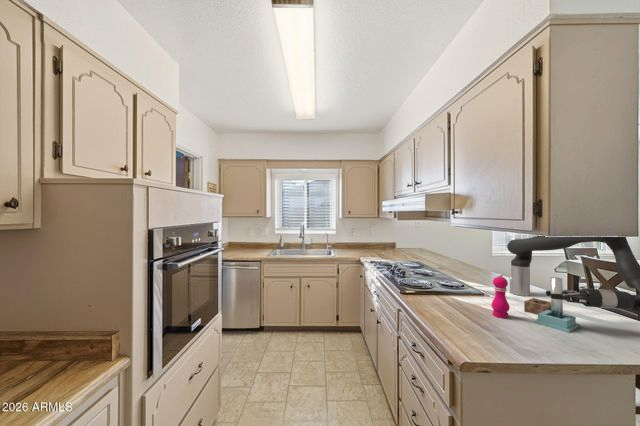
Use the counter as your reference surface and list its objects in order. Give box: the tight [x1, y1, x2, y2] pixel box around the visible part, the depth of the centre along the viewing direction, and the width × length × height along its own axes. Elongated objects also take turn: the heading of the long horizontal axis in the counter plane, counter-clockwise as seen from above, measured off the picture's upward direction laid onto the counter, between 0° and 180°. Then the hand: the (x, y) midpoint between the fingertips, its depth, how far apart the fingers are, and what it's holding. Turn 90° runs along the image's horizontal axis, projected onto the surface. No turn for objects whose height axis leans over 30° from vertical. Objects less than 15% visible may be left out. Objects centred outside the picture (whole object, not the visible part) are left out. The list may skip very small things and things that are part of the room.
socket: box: [533, 310, 581, 333], centre depth 120 cm, size 12×12×4 cm
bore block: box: [523, 297, 551, 316], centre depth 135 cm, size 10×10×5 cm
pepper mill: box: [491, 273, 511, 319], centre depth 130 cm, size 7×7×20 cm
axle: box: [549, 276, 564, 319], centre depth 120 cm, size 4×4×18 cm
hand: (548, 294), depth 121 cm, fingers closed on axle, 4 cm apart
